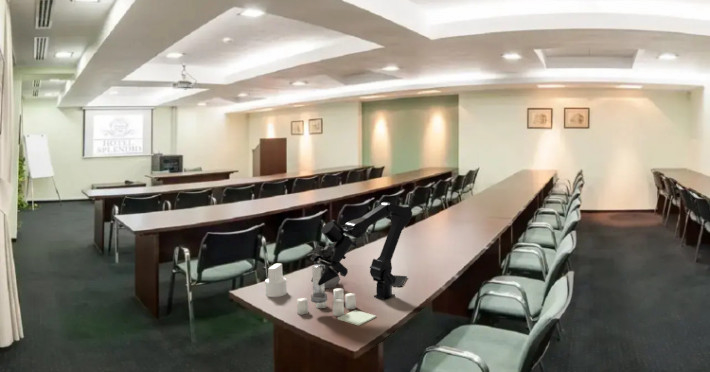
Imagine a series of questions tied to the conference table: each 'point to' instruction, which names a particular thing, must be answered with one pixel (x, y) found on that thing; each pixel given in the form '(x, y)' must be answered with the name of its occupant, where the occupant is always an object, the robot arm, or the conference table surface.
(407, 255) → the conference table surface
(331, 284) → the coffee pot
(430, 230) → the conference table surface
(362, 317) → the sage mat
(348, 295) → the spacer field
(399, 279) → the phone
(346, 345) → the conference table surface
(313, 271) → the silver cylinder
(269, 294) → the cylinder with rectangular tab
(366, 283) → the conference table surface
